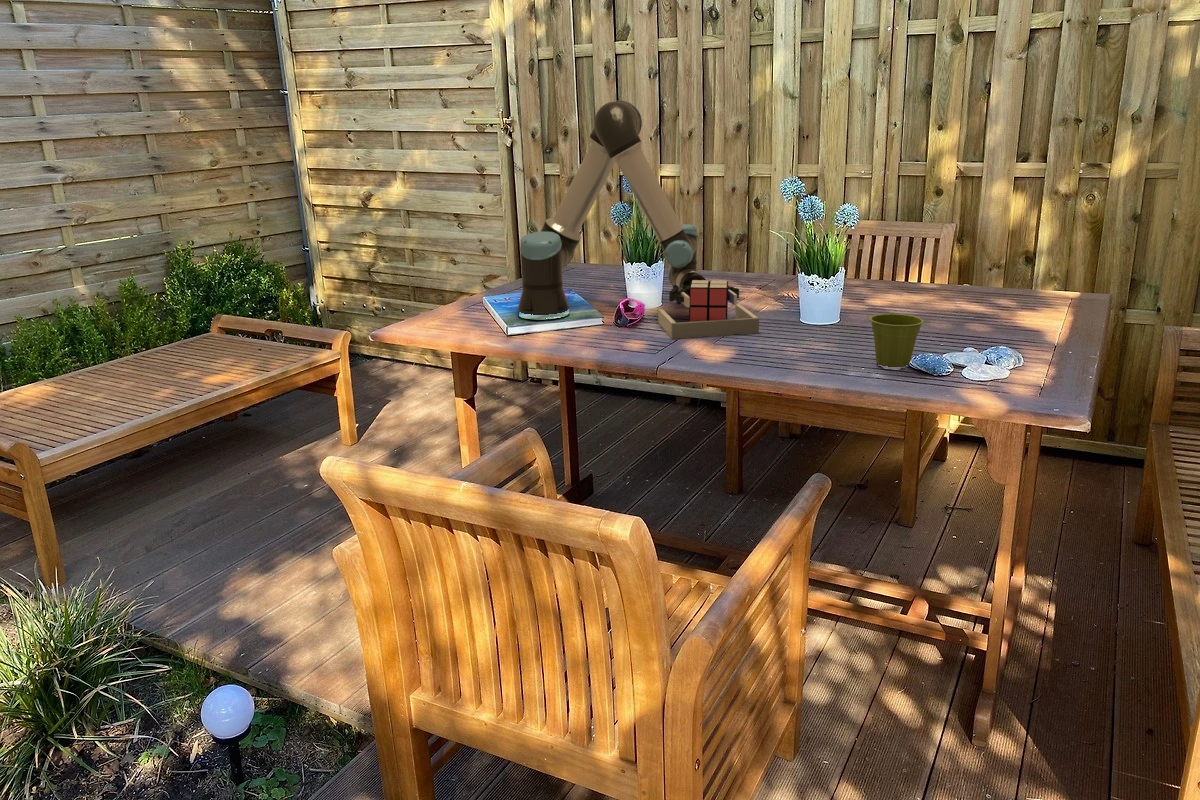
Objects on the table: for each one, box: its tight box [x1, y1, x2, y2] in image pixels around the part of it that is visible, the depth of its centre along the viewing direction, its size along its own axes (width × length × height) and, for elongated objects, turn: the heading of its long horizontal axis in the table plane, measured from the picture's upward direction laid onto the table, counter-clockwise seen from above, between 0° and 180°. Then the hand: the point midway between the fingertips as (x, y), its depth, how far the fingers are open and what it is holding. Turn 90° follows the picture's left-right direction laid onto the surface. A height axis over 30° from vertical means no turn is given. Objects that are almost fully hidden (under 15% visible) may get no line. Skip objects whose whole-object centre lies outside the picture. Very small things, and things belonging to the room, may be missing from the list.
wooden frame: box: [657, 303, 760, 340], centre depth 253 cm, size 18×23×4 cm
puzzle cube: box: [688, 279, 729, 322], centre depth 250 cm, size 10×10×10 cm
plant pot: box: [868, 313, 925, 367], centre depth 214 cm, size 12×12×11 cm
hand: (712, 301), depth 246 cm, fingers closed on puzzle cube, 12 cm apart
